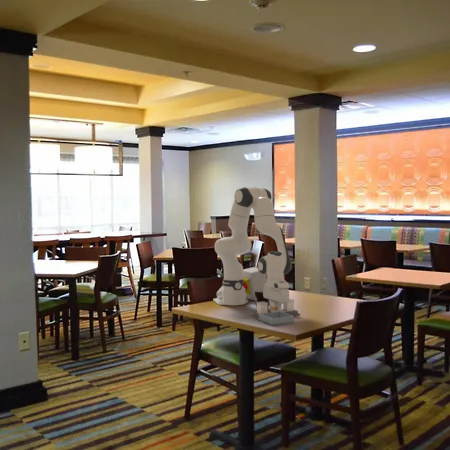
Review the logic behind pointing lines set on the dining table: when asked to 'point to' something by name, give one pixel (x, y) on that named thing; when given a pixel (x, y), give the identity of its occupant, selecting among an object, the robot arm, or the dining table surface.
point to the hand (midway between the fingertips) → (275, 309)
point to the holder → (293, 313)
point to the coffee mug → (260, 297)
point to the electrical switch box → (253, 281)
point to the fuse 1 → (262, 307)
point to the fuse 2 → (289, 305)
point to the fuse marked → (273, 306)
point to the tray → (276, 318)
